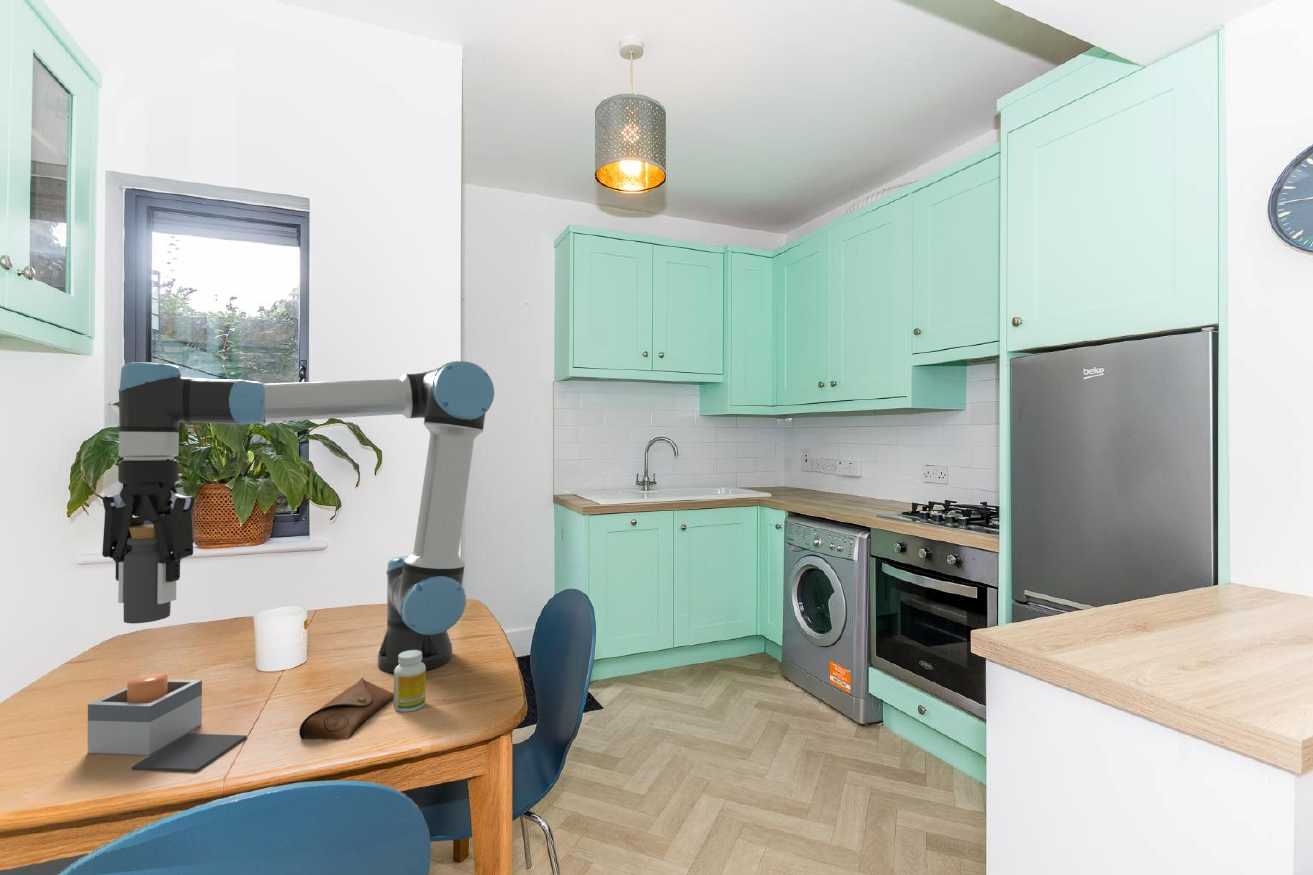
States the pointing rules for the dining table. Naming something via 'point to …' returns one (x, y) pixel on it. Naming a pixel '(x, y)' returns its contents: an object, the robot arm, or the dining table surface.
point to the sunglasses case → (345, 712)
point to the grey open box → (144, 719)
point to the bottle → (143, 577)
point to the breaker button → (147, 688)
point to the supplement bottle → (409, 682)
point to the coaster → (190, 752)
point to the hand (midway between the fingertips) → (147, 600)
